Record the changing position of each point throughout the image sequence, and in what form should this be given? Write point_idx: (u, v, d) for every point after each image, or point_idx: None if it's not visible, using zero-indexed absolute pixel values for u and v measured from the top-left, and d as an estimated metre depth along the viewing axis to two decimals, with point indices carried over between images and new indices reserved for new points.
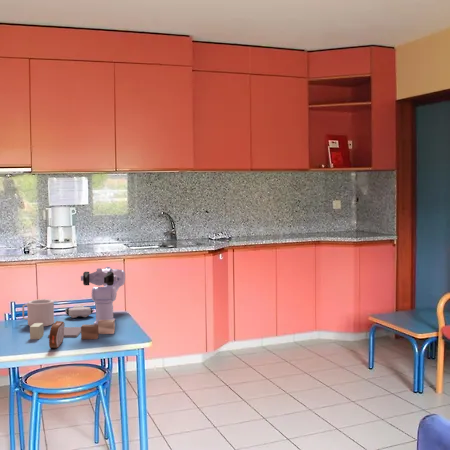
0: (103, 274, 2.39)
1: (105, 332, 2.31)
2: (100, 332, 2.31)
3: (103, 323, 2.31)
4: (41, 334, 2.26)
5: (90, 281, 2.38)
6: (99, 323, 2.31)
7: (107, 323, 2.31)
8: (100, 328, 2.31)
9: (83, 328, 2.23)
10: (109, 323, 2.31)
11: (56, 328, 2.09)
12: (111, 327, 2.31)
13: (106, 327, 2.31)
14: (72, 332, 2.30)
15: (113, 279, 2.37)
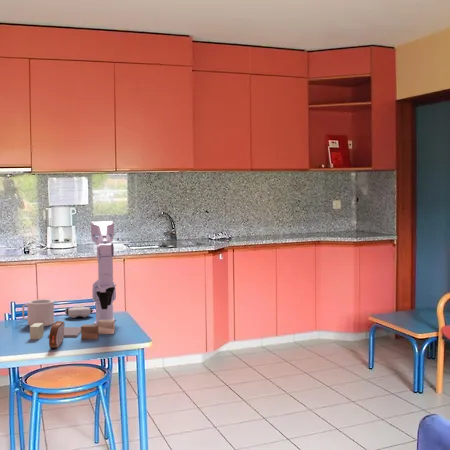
0: None
1: (105, 332, 2.31)
2: (100, 332, 2.31)
3: (103, 323, 2.31)
4: (41, 334, 2.26)
5: None
6: (99, 323, 2.31)
7: (107, 323, 2.31)
8: (100, 328, 2.31)
9: (83, 328, 2.22)
10: (109, 323, 2.31)
11: (56, 328, 2.09)
12: (111, 327, 2.31)
13: (106, 327, 2.31)
14: (72, 332, 2.30)
15: None
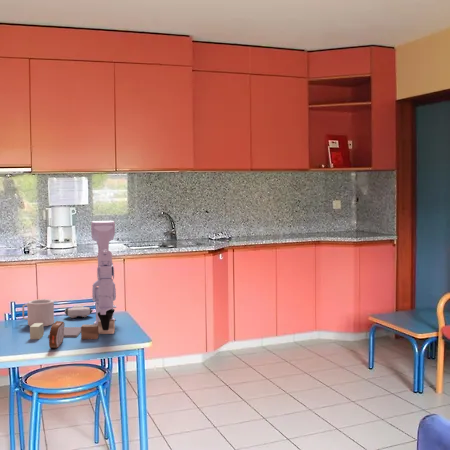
0: None
1: (105, 332, 2.31)
2: (100, 332, 2.31)
3: None
4: (41, 334, 2.26)
5: (101, 310, 2.29)
6: (99, 323, 2.31)
7: None
8: (100, 328, 2.31)
9: (83, 328, 2.22)
10: (109, 323, 2.31)
11: (56, 328, 2.09)
12: (111, 327, 2.31)
13: None
14: (72, 332, 2.30)
15: None
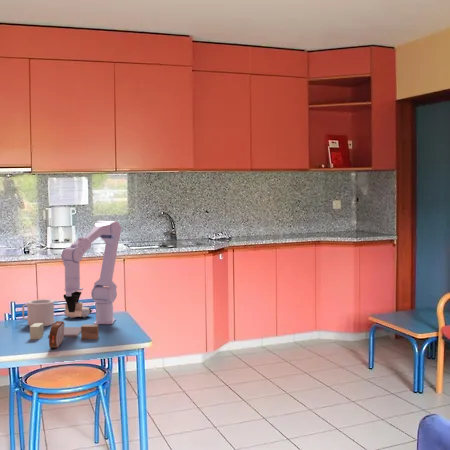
0: None
1: (72, 314, 2.30)
2: (67, 314, 2.30)
3: None
4: (41, 334, 2.26)
5: None
6: (66, 305, 2.30)
7: None
8: (67, 311, 2.30)
9: (83, 328, 2.23)
10: (76, 305, 2.30)
11: (56, 328, 2.09)
12: (78, 309, 2.30)
13: None
14: (72, 332, 2.30)
15: None
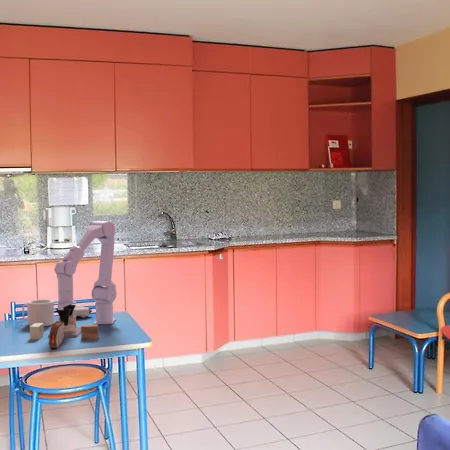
0: None
1: (65, 328, 2.30)
2: None
3: None
4: (41, 334, 2.26)
5: (59, 305, 2.28)
6: (59, 319, 2.30)
7: None
8: None
9: (83, 328, 2.23)
10: (69, 319, 2.30)
11: (56, 328, 2.09)
12: (71, 323, 2.30)
13: None
14: (72, 332, 2.30)
15: None
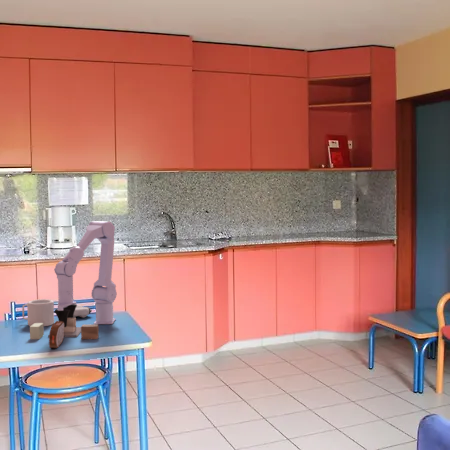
0: None
1: (65, 330, 2.30)
2: None
3: None
4: (41, 334, 2.26)
5: (59, 305, 2.28)
6: None
7: (67, 321, 2.30)
8: None
9: (83, 328, 2.23)
10: (69, 321, 2.30)
11: (56, 328, 2.09)
12: (71, 325, 2.30)
13: None
14: (72, 332, 2.30)
15: None
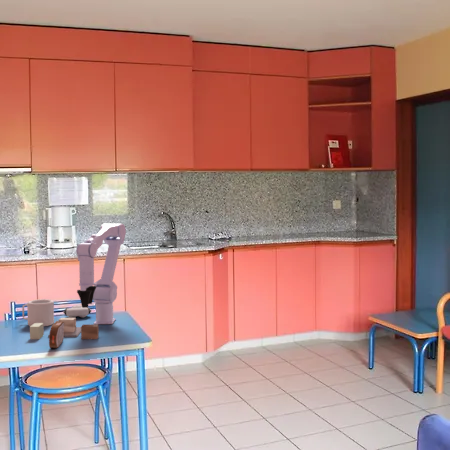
0: None
1: (65, 330, 2.30)
2: None
3: (63, 321, 2.30)
4: (41, 334, 2.26)
5: None
6: None
7: (67, 321, 2.30)
8: None
9: (83, 328, 2.23)
10: (69, 321, 2.30)
11: (56, 328, 2.09)
12: (71, 325, 2.30)
13: (66, 325, 2.30)
14: (72, 332, 2.30)
15: None
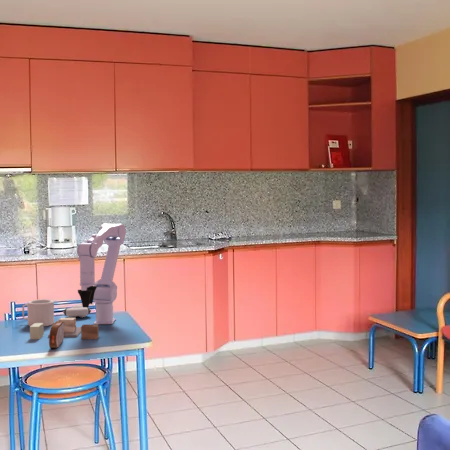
0: None
1: (65, 330, 2.30)
2: None
3: (63, 321, 2.30)
4: (41, 334, 2.26)
5: (82, 286, 2.31)
6: None
7: (67, 321, 2.30)
8: None
9: (83, 328, 2.23)
10: (69, 321, 2.30)
11: (56, 328, 2.09)
12: (71, 325, 2.30)
13: (66, 325, 2.30)
14: (72, 332, 2.30)
15: None
